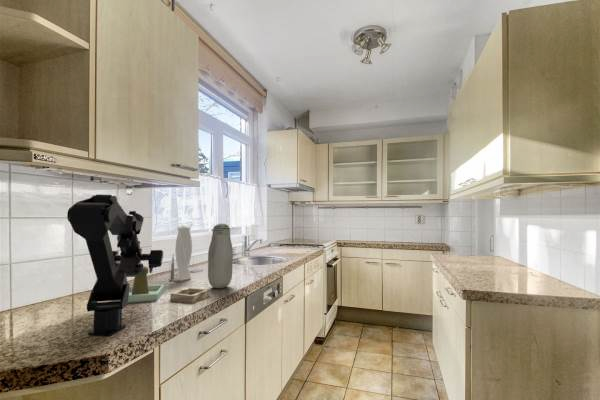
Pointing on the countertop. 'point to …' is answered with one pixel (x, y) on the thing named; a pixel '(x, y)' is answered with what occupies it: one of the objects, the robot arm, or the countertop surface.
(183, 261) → the skyscraper
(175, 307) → the countertop surface
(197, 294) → the wooden collar
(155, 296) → the sage green tray
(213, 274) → the grey bottle
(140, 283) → the cork
